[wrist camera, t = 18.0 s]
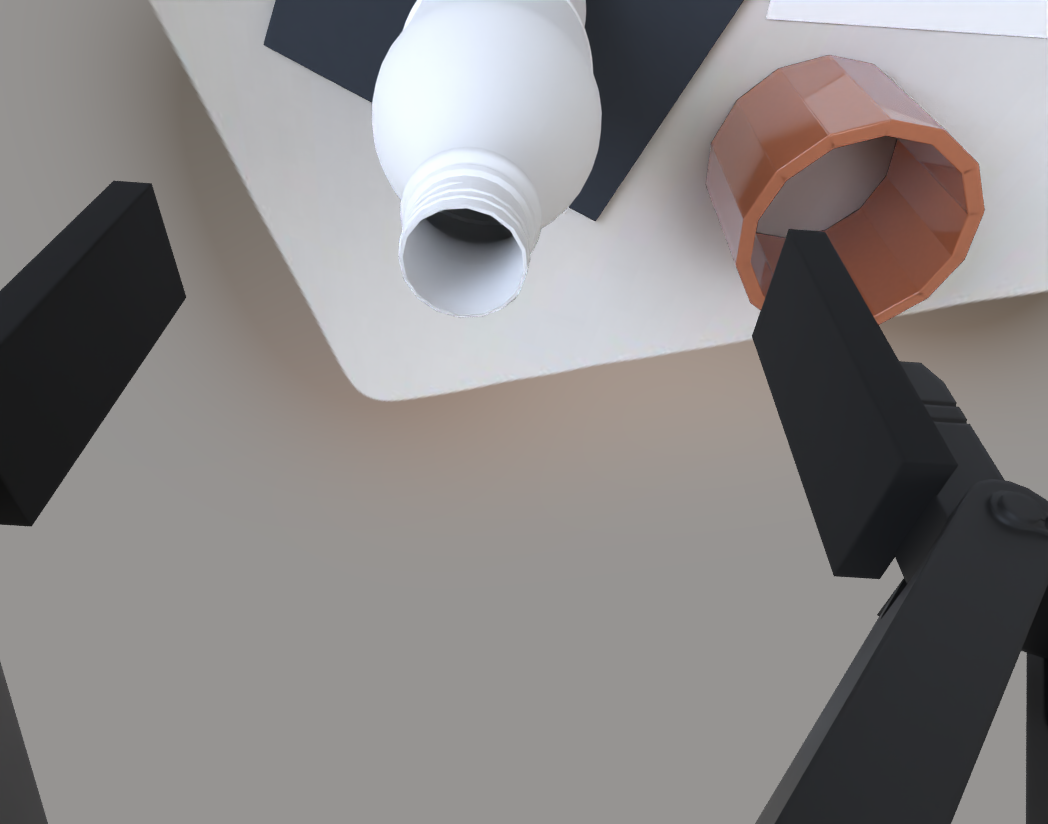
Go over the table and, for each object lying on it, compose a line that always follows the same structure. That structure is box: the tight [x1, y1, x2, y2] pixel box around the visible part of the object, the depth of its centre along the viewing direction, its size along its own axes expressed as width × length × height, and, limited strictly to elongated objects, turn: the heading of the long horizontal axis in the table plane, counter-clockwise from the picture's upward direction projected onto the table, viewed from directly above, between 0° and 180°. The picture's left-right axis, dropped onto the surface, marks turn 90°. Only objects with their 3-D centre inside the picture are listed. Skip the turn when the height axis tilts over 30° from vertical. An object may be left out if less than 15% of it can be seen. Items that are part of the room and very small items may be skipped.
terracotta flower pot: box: [706, 55, 985, 325], centre depth 37 cm, size 11×11×9 cm
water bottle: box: [372, 0, 602, 318], centre depth 26 cm, size 7×7×25 cm
